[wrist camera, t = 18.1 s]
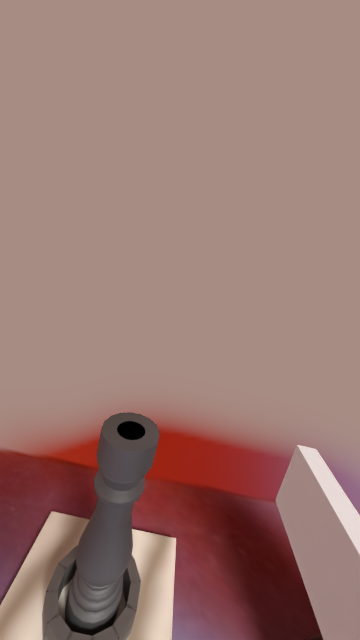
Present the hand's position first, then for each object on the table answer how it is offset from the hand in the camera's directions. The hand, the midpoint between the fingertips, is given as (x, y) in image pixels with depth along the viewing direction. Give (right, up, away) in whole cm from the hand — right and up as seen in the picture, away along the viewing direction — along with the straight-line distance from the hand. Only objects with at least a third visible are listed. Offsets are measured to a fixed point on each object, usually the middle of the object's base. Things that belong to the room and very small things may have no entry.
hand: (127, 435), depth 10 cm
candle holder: (-9, -30, +21) cm, 38 cm away
